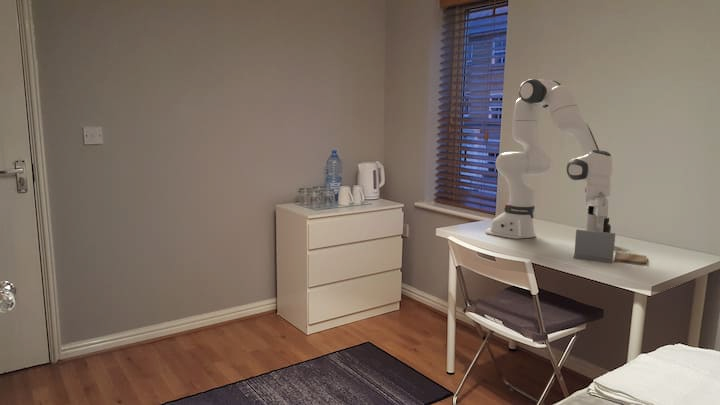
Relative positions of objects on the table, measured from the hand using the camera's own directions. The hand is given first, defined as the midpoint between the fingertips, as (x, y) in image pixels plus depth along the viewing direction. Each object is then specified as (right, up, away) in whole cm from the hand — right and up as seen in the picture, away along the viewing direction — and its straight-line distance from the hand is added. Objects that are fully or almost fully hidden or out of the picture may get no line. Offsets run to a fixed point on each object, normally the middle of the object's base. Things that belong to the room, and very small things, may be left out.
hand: (595, 224), depth 214 cm
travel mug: (0, -12, +2) cm, 12 cm away
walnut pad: (+11, -13, -6) cm, 18 cm away
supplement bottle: (+10, -9, +18) cm, 23 cm away
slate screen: (-4, -13, -6) cm, 15 cm away
